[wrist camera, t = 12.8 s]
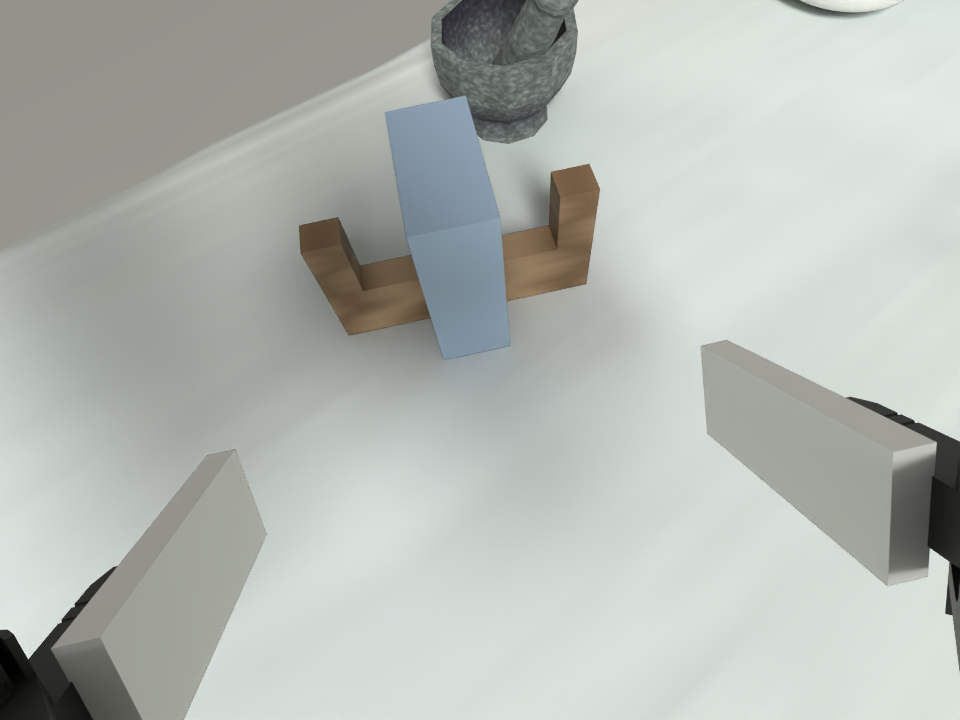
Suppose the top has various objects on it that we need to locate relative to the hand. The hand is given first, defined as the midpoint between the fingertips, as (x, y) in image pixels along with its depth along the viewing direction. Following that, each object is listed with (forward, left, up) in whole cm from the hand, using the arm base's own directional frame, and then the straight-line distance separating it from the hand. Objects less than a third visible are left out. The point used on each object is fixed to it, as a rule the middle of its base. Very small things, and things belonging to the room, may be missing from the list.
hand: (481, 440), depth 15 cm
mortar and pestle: (+7, +29, -14) cm, 34 cm away
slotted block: (+1, +14, -14) cm, 20 cm away
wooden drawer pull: (+1, +14, -14) cm, 20 cm away
